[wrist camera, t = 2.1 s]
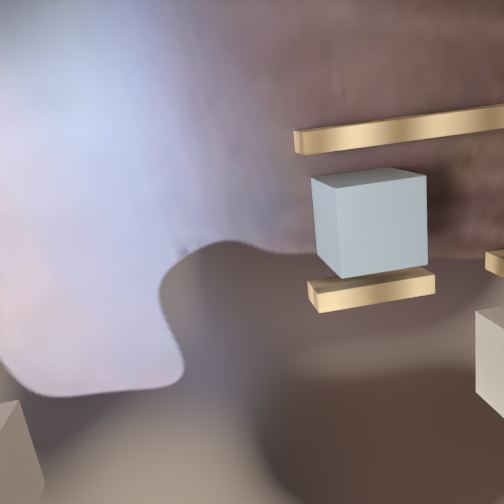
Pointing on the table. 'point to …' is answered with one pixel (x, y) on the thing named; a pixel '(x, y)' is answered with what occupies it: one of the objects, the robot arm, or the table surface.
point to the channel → (378, 133)
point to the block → (371, 220)
